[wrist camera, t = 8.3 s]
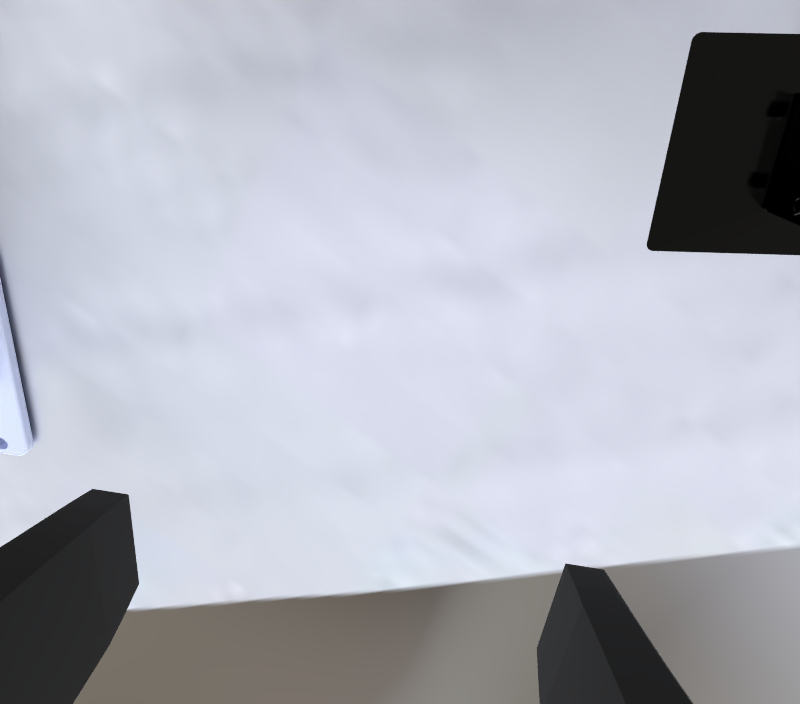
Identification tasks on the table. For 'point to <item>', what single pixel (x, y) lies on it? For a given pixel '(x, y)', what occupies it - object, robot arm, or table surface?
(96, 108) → the table surface
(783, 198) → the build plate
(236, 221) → the table surface
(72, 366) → the table surface
